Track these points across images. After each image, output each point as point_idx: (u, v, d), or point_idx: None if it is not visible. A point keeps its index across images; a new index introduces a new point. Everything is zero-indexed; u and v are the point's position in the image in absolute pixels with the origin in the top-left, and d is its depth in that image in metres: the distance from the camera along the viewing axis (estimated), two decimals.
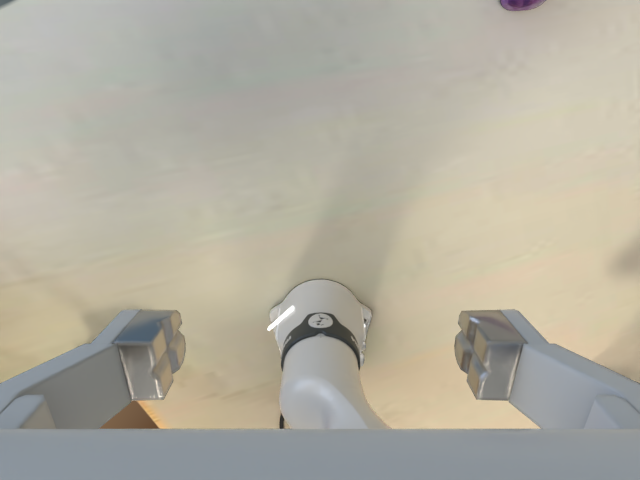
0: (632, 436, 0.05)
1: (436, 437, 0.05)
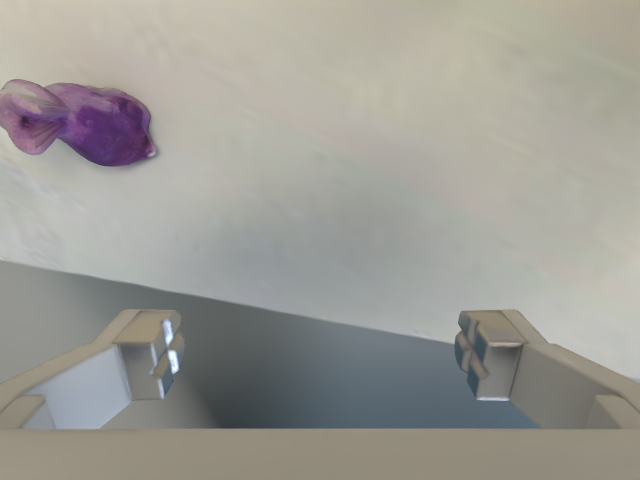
0: (632, 436, 0.05)
1: (436, 437, 0.05)
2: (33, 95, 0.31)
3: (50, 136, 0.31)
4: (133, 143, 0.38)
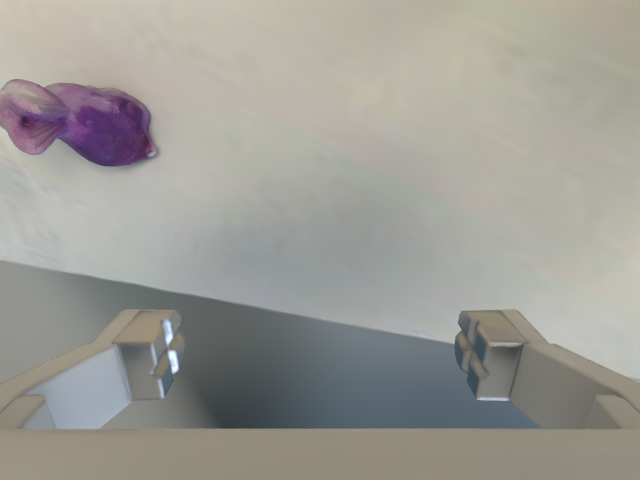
0: (632, 436, 0.05)
1: (436, 437, 0.05)
2: (33, 95, 0.31)
3: (50, 136, 0.31)
4: (133, 143, 0.38)
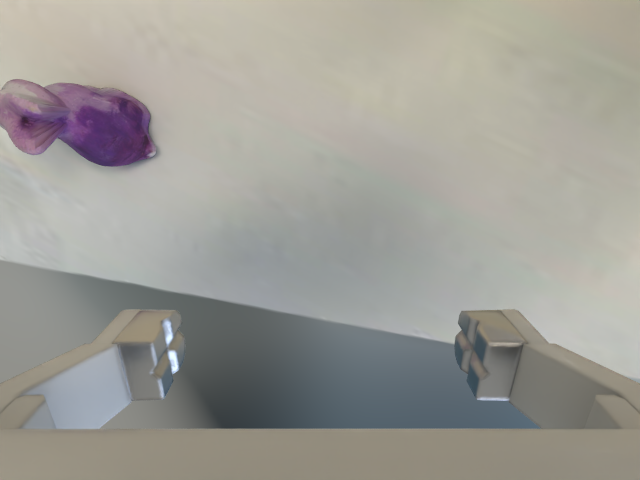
0: (632, 436, 0.05)
1: (436, 437, 0.05)
2: (33, 95, 0.31)
3: (50, 136, 0.31)
4: (133, 143, 0.38)
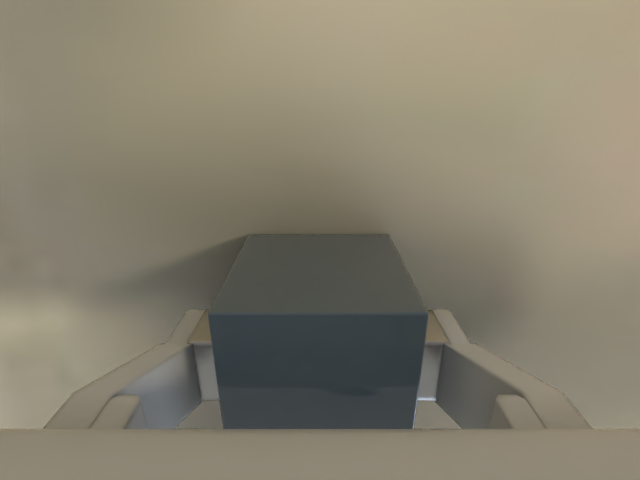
0: (632, 436, 0.05)
1: (436, 437, 0.05)
2: None
3: None
4: None
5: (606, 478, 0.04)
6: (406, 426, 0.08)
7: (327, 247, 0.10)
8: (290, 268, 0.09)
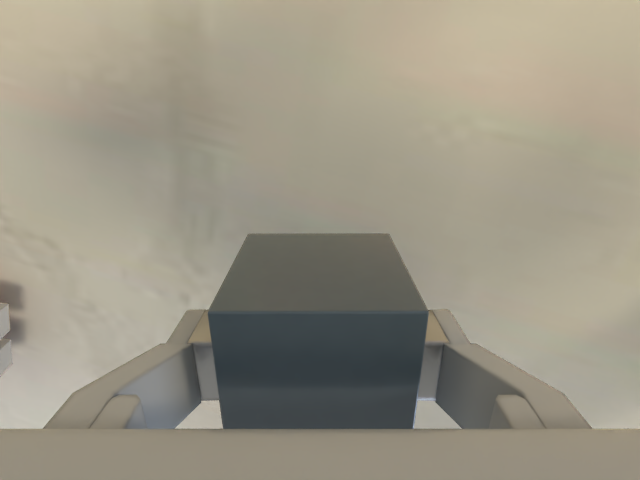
0: (632, 436, 0.05)
1: (436, 437, 0.05)
2: None
3: None
4: None
5: (606, 478, 0.04)
6: (406, 425, 0.08)
7: (327, 246, 0.10)
8: (291, 267, 0.09)
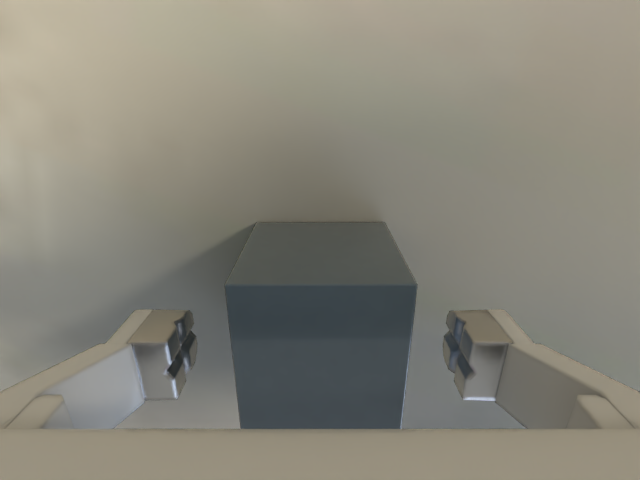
0: (632, 436, 0.05)
1: (436, 437, 0.05)
2: None
3: None
4: None
5: (606, 478, 0.04)
6: (399, 388, 0.09)
7: (328, 232, 0.11)
8: (296, 250, 0.10)
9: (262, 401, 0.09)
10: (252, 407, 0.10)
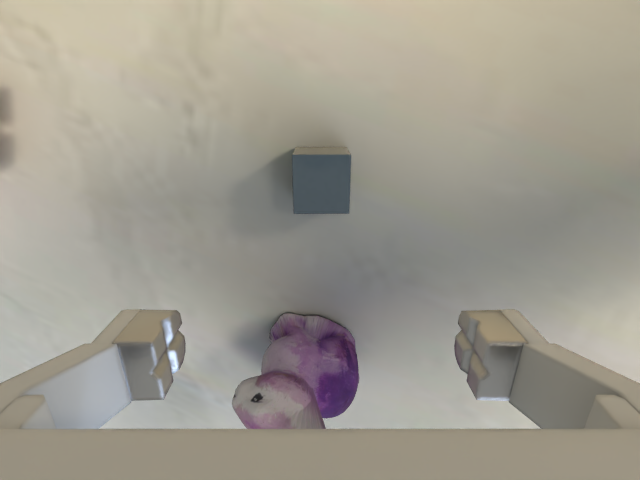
0: (632, 436, 0.05)
1: (436, 437, 0.05)
2: (301, 408, 0.27)
3: None
4: None
5: (606, 478, 0.04)
6: (347, 194, 0.28)
7: (324, 148, 0.30)
8: (312, 150, 0.29)
9: (301, 199, 0.28)
10: (298, 202, 0.28)
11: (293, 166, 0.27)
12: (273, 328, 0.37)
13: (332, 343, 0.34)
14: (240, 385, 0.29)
